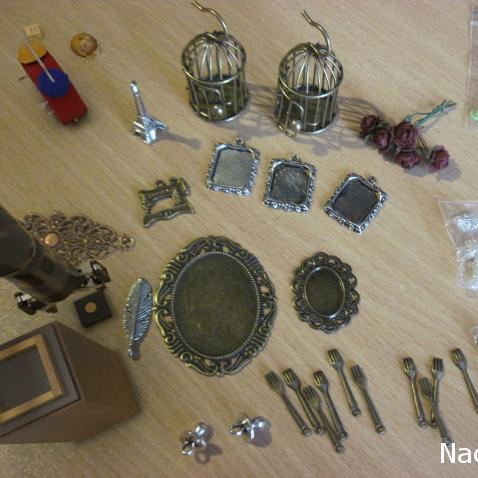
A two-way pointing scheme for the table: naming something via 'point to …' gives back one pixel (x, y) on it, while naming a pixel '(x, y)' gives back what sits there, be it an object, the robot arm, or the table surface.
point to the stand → (60, 387)
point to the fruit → (85, 46)
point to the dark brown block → (92, 309)
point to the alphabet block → (33, 33)
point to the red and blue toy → (51, 82)
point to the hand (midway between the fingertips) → (78, 297)
